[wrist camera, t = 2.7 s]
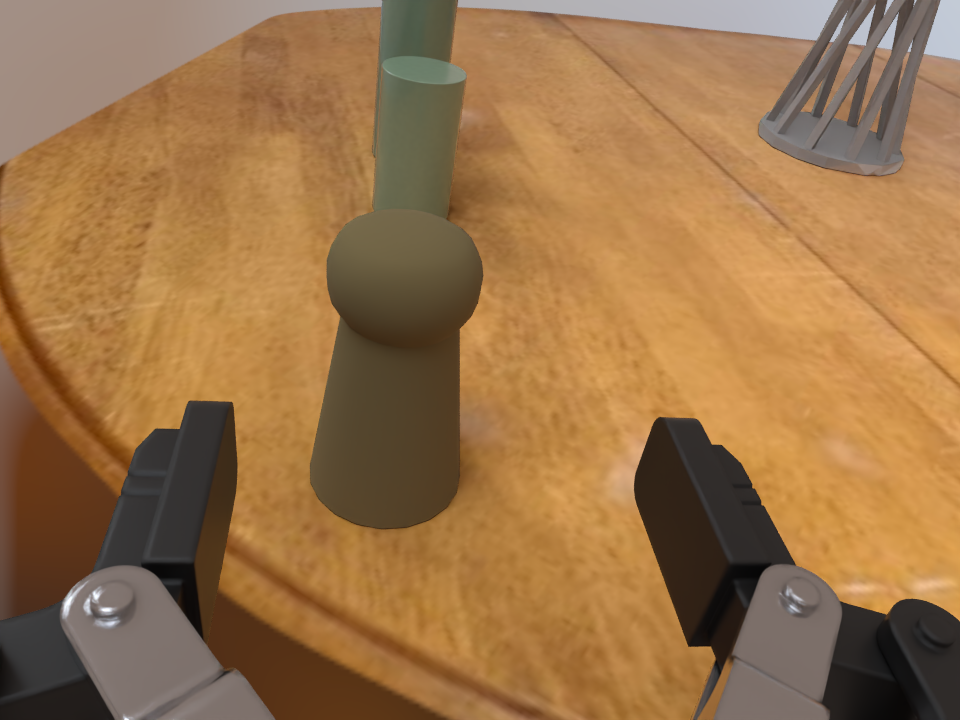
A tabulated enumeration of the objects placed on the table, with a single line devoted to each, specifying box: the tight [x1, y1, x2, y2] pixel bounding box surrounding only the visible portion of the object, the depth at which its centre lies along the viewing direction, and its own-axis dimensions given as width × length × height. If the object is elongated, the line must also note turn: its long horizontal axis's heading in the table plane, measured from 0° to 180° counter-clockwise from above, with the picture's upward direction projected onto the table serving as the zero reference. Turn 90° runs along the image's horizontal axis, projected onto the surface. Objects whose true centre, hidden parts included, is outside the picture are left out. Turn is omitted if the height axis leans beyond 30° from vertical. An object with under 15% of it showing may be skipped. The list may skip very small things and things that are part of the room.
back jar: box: [372, 0, 458, 157], centre depth 54 cm, size 5×5×12 cm
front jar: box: [372, 56, 467, 219], centre depth 48 cm, size 5×5×9 cm
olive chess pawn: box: [310, 209, 483, 529], centre depth 28 cm, size 6×6×11 cm
